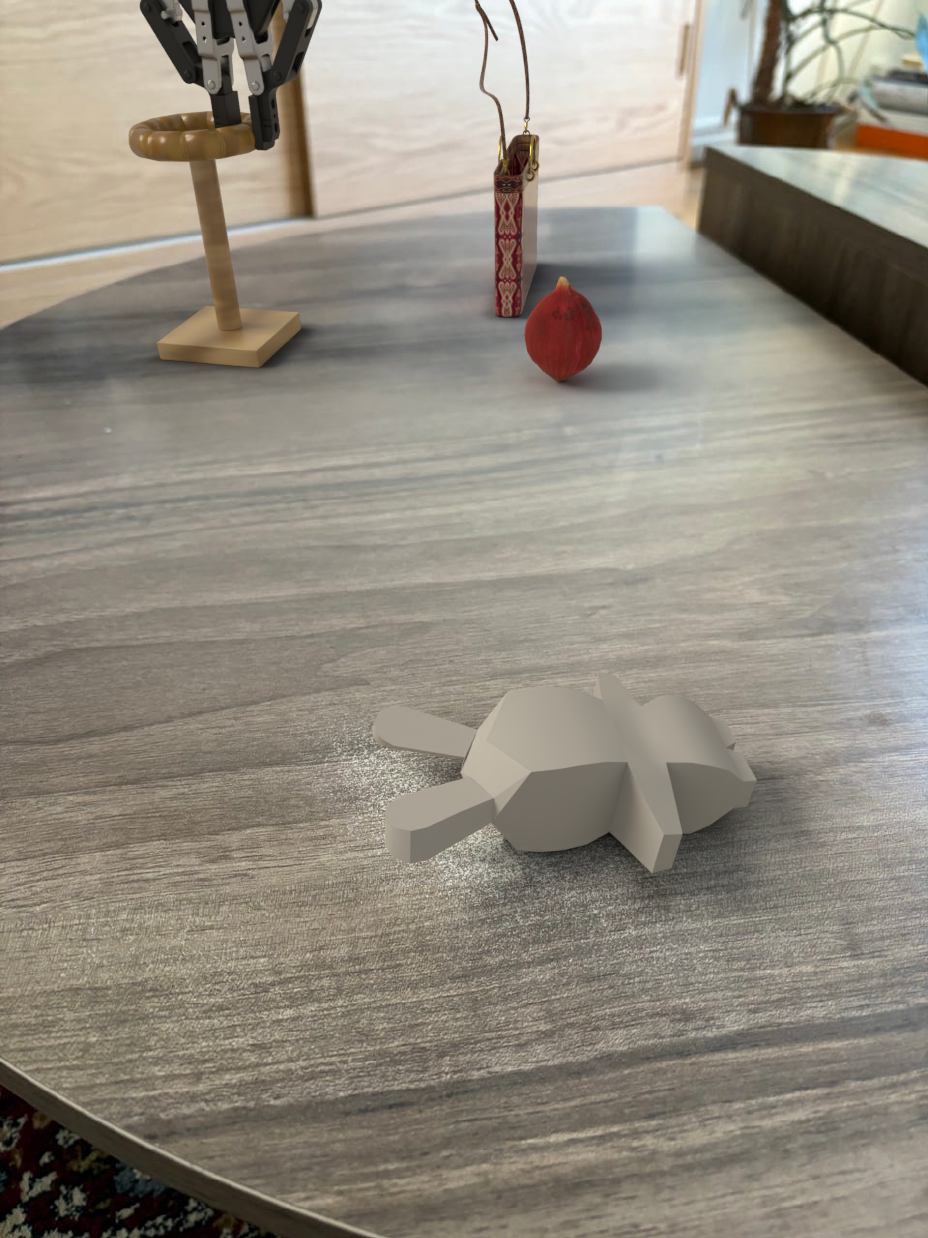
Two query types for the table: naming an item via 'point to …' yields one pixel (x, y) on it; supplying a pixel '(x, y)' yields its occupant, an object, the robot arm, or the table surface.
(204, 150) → the ring
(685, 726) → the bunny figurine
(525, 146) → the handbag
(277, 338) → the stand
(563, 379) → the onion
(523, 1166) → the table surface
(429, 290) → the table surface
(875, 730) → the table surface
